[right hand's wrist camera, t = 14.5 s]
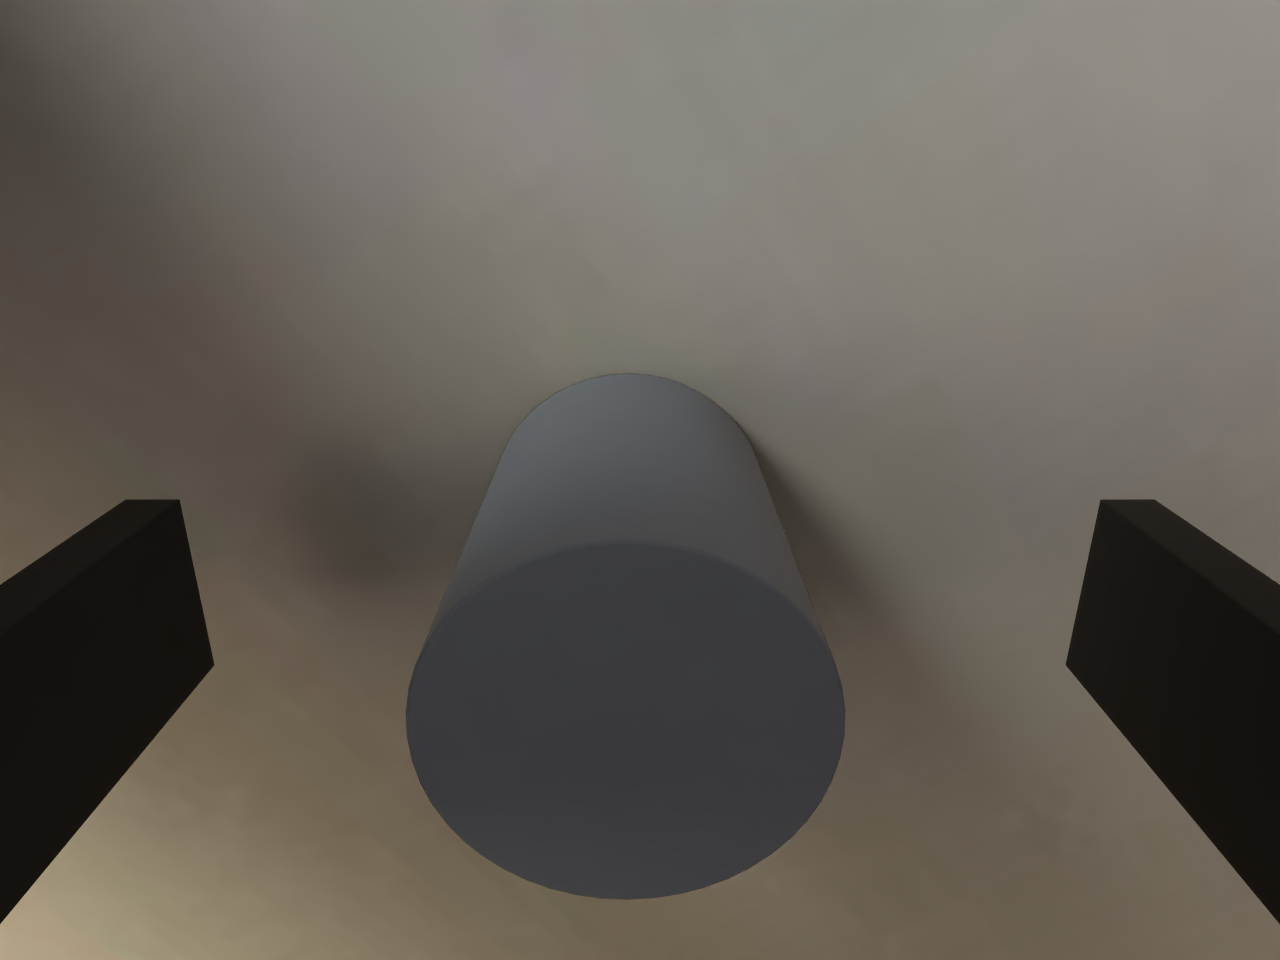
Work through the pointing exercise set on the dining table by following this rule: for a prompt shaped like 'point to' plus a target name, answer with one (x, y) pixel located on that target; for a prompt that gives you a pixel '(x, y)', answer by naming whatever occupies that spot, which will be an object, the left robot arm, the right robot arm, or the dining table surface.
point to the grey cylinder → (626, 655)
